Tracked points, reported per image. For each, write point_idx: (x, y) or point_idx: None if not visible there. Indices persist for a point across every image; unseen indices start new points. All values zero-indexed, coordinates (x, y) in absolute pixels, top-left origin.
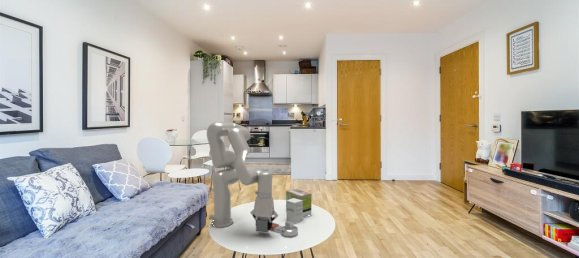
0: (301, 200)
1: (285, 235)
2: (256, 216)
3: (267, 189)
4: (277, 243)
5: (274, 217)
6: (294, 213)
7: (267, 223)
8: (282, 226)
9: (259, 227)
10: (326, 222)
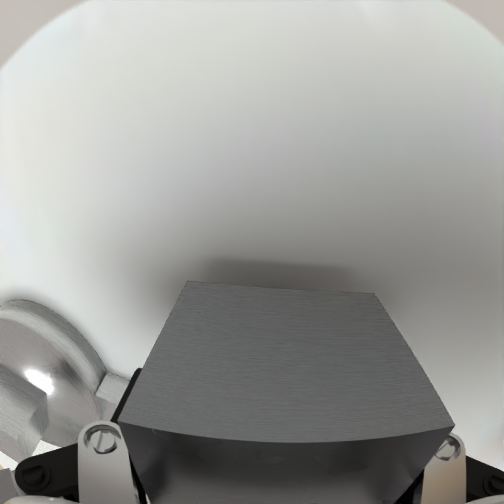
0: None
1: (30, 312)
2: (456, 499)
3: None
4: (47, 145)
5: (16, 491)
6: None
7: (140, 387)
8: None
9: (333, 325)
10: (5, 464)
